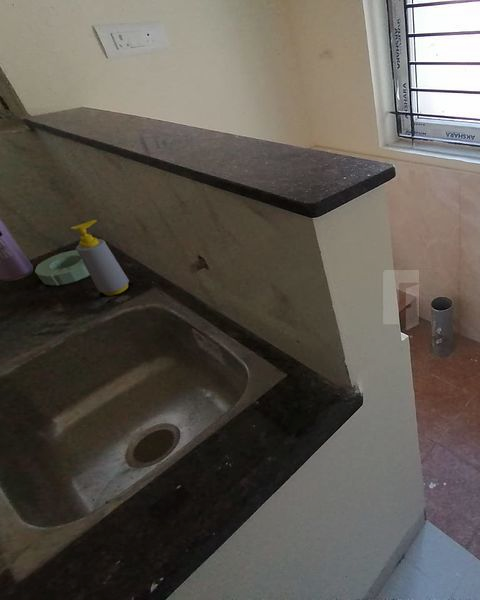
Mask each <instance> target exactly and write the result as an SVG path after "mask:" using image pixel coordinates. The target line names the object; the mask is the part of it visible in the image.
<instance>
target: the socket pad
mask: <svg viewBox="0 0 480 600" xmlns="http://www.w3.org/2000/svg"><path fill="white" fill-rule="evenodd" d="M34 272H35V274H36V276H37V277H38V279H39V280H40V281H41V282H42V283H43V284H44V285H46V286H47V285H48V286H57V287H58V286H62V285H63V286H64V285H67V284H68V285H69V284H72V283H75V282H78V281H80V280H82V279H85V278H88V277H90V274H89V272H88V270H87V268H86V266H85V265H84V263H83V261H82V259H81V257H80V255H79V253H78V251H77V249H74V250H69V251H64V252H60V253H58V254H55V255H52V256H50V257H48V258H47V259H45V260H43V261H41V262H40V263H38V264H37V266H36V267H35V270H34Z"/></svg>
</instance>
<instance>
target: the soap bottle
mask: <svg viewBox="0 0 480 600" xmlns="http://www.w3.org/2000/svg"><path fill="white" fill-rule="evenodd" d="M97 222H98V220H97V219H92V220H89V221H87V222H84V223H83V222H82V223H79V224H78V225H74V226H71V227H70V229H72V230H77V232H78V233H79V234H80V237H79V239H80V241H79V242H78V245H77V246H76V247H75V250H77V251H78V253H79V255H80V257H81V259H82V261H83V263H84V265H85V266H86V268H87V270H88V272H89V274H90V275H89V277H90V278H91V279H92V281H93V283H94V285H95V287H96V289H97V291H98V292H99V293H101V294H103V295H104V296H115V295H118V294H119V295H120V294H121V293H123V292H125V291H126V290H127V289H128V288H129V283H130V279H129V278H128V276H127V275H126V273H125V272H124V270H123V269H122V267H121V266H120V263H119V262H118V261H117V259H116V257H115V256H114V254H113V253H112V251H111V249H110V248H109V246H108V245H107V243H106V241H105V240H104V239H102V238H97V237H96V236H93V235H92V234H90V233H87V229H88V228H90V227H91V226H92V225H93V224H96V223H97Z"/></svg>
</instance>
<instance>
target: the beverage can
mask: <svg viewBox="0 0 480 600" xmlns="http://www.w3.org/2000/svg"><path fill="white" fill-rule="evenodd" d="M0 231H1V233H2V236H0V281H4V282H14V281H18V280H21V279H23V278H26V277H28V276H29V275H31V274H32V273H33V271H34V266H33V264H32V263H31V261H30V260H29V258H28V257H27V255H26V254H25V252H24V251H23V250H22V248H21V246H20V245H19V244H18V242H17V241H16V239H15V238H14V237H13V235H12V233H11V232H10V230H9V229H8V227H7V226H6V224H5V223H4V222H3V220H2V219H1V218H0Z"/></svg>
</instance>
